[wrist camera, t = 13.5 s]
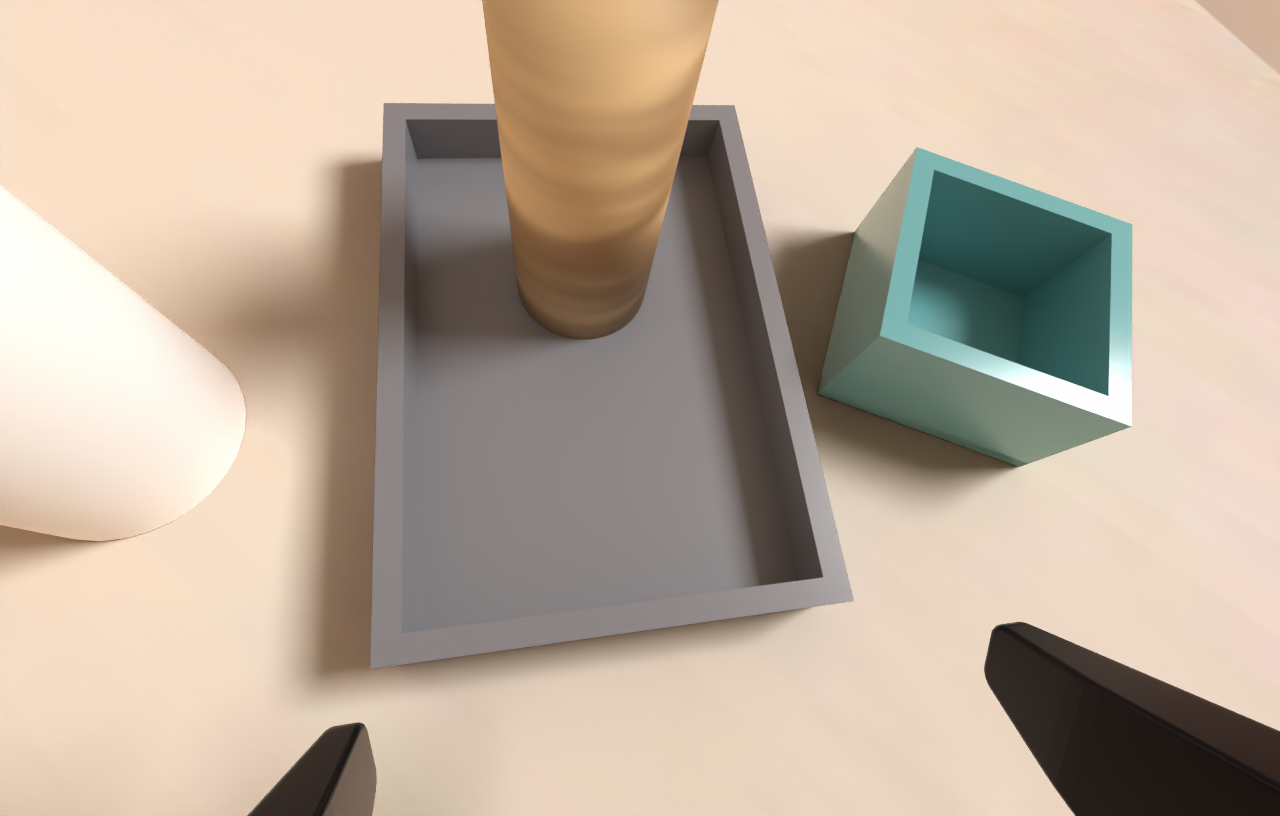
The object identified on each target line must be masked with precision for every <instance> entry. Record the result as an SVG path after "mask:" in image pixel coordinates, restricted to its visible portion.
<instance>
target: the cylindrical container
mask: <svg viewBox="0 0 1280 816" xmlns="http://www.w3.org/2000/svg"><path fill="white" fill-rule="evenodd" d="M245 421H246V410H245V403H244V396H243V394H242V391H241V389H240V386H239V384H238V381H237V380H236V378H235V377H234V376H233V374H232V373H231V371H230V370H229V369H228V367H227V366H225V365H224V364H223V363H222V362H221V361H220V360H219V359H217V358H216V357H215V356H214V355H213V354H211V353H210V352H209V351H208V350H206V349H205V348H204V347H203V346H201V345H200V344H199V343H198V342H196V341H195V340H194V339H193V338H191V337H190V336H189V335H188V334H186V333H185V332H184V331H183V330H181V329H180V328H179V327H178V326H176V325H175V324H174V323H173V322H171V321H170V320H169V319H168V318H166V317H165V316H164V315H163V314H161V313H160V312H159V311H158V310H156V309H155V308H154V307H153V306H151V305H150V304H149V303H148V302H146V301H145V300H144V299H143V298H141V297H140V296H139V295H138V294H136V293H135V292H134V291H133V290H131V289H130V288H129V287H128V286H126V285H125V284H124V283H123V282H121V281H120V280H119V279H118V278H116V277H115V276H114V275H113V274H111V273H110V272H109V271H108V270H106V269H105V268H104V267H103V266H101V265H100V264H99V263H98V262H96V261H95V260H94V259H93V258H91V257H90V256H89V255H88V254H86V253H85V252H84V251H83V250H81V249H80V248H79V247H78V246H76V245H75V244H74V243H73V242H71V241H70V240H69V239H68V238H66V237H65V236H64V235H63V234H61V233H60V232H59V231H58V230H56V229H55V228H54V227H53V226H51V225H50V224H49V223H48V222H46V221H45V220H44V219H43V218H41V217H40V216H39V215H38V214H36V213H35V212H34V211H32V210H31V209H30V208H29V207H27V206H26V205H25V204H24V203H22V202H21V201H20V200H19V199H17V198H16V197H15V196H14V195H12V194H11V193H10V192H9V191H7V190H6V189H5V188H4V187H2V186H1V185H0V525H3V526H8V527H13V528H18V529H24V530H29V531H34V532H39V533H44V534H49V535H54V536H59V537H65V538H70V539H75V540H89V541H107V540H116V539H125V538H129V537H132V536H136V535H140V534H143V533H147V532H150V531H152V530H155V529H157V528H159V527H161V526H163V525H166V524H168V523H170V522H172V521H174V520H175V519H177V518H179V517H180V516H182V515H183V514H185V513H186V512H188V511H190V510H191V509H193V508H194V507H195V506H196V505H197V504H198V503H200V502H201V501H202V500H203V499H204V498H205V497H206V496H208V495H209V494H210V493H211V492H212V491H213V490H214V488H215V487H216V486H217V485H218V484H219V482H220V481H221V480H222V479H223V478H224V476H225V475H226V474H227V472H228V470H229V469H230V467H231V465H232V463H233V461H234V460H235V458H236V456H237V454H238V452H239V448H240V445H241V442H242V439H243V436H244V432H245Z"/></svg>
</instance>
